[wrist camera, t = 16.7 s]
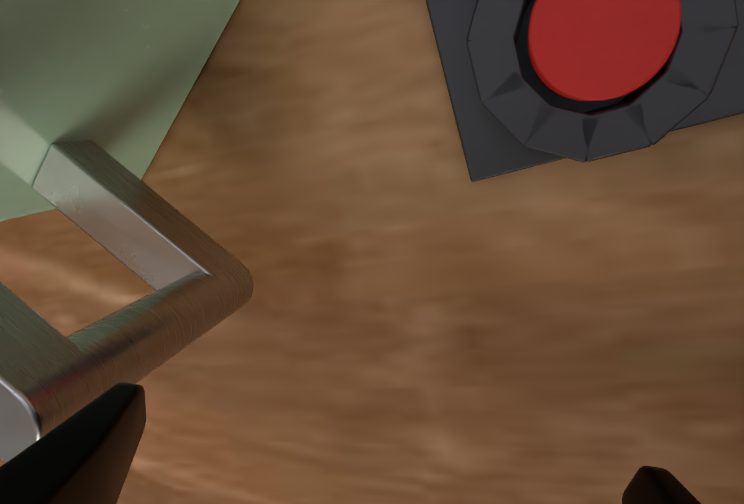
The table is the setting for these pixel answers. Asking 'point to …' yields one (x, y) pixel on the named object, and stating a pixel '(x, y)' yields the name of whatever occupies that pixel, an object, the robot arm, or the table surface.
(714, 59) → the button block
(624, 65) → the release button
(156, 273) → the cabinet door
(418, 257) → the table surface
